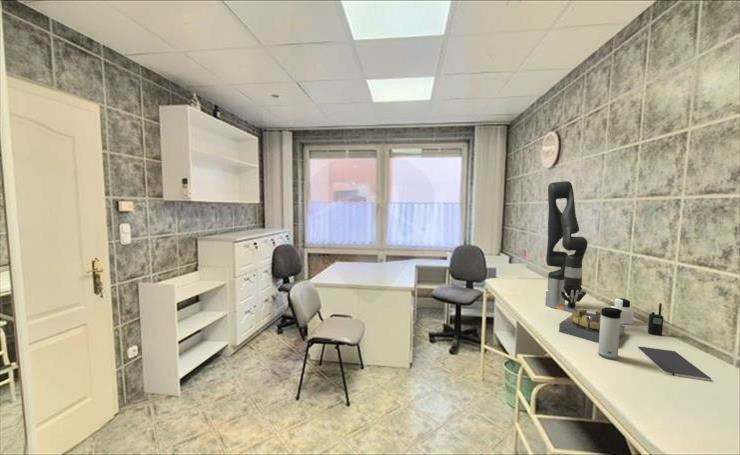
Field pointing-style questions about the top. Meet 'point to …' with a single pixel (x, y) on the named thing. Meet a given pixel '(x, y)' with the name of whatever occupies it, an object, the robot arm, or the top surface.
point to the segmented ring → (581, 316)
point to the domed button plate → (584, 328)
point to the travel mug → (609, 333)
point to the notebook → (673, 363)
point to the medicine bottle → (624, 310)
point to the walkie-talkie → (656, 323)
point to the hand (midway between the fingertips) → (571, 309)
